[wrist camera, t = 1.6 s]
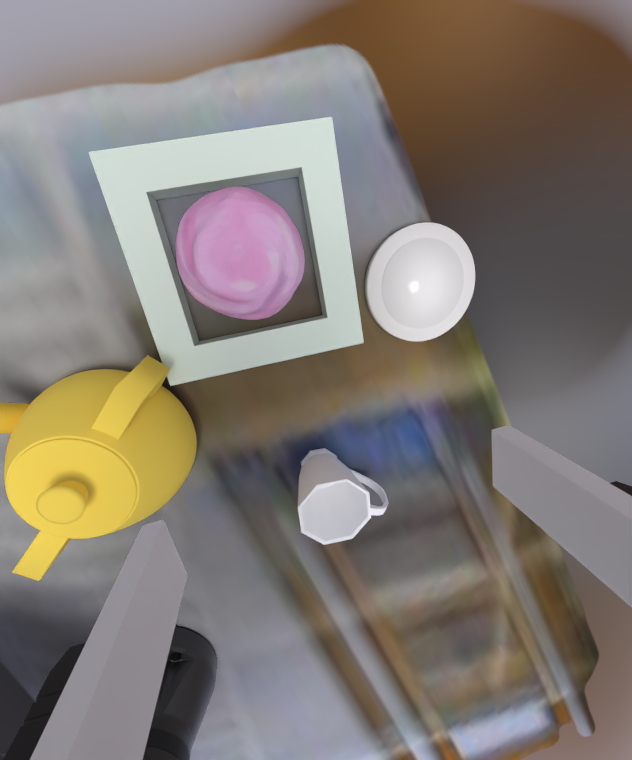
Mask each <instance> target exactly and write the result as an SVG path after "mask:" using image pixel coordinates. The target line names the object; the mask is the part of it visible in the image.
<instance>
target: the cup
mask: <svg viewBox="0 0 632 760" xmlns="http://www.w3.org/2000/svg"><path fill="white" fill-rule="evenodd" d="M301 467H302V468H301V471H300V476H299V492H298V513H299V520H300V526H301V533H303V534H305V535H307V536H309V537H311V538H312V539H314V540H316V541H318V542H320V543H322V544H324V545H326V544H330V543H335V542H339V541H344V540H348V539H353V538H354V536H355V535H356V534H357V533H358V532H359V531H360V530H361V528H362V527H363V526H364V525H365V524H366V523H367V522H368V520H369V519H370V518H371V515H382V514H383V513H384V512H385V510H386V508H387V506H388V498H387V495H386V493H385V491H384V490H383V488H382V487H381V486H380V485H379V484H377V483H376V482H374V481H373V480H371V479H370V478H368V477H366V476H364V475H362V474H360V473H358V472H356V471H354V470H351V469H349V468H348V467H347V466H345V465H344V464H343V463H342V462H341V461H340V460H338V459H337V456H336V455H335V454H333V453H332V452H330V451H329V450H327V449H326V448H322V449H317V450H311V451H309V453H308V454H307V455H306V456H305V458H304V459H303V460H302V461H301ZM360 482H361V483H363V484H365V485H367V486H368V487H370V488H372V489H373V490H374V491H375V492H376V493H377V494H378V495H379V496H380V498H381V500H382V504H383V506H379V507H378V506H374V505H370V496H369V492H368V491H367V490H366V488H365V487H364V486H363V485H362V484H361V483H360Z"/></svg>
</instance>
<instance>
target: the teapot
mask: <svg viewBox="0 0 632 760" xmlns="http://www.w3.org/2000/svg"><path fill="white" fill-rule="evenodd" d="M169 370H170V368H169V367H167V366H165V365H164V364H162V363H160V362H158V361H157V360H155V359H153V358H152V357H150V356H148V355H147V356H146V357H145V358H144V359H143V360H142V361H141V362H140V363H139V364H138V365H137V366H136V367H135V368H134V369H133V370H132V371H131V372H127V371H121V370H113V369H96V370H89V371H83V372H79V373H76V374H73V375H70V376H68V377H66V378H64V379H61V380H60V381H58V382H56V383H55V384H53V385H51V386H50V387H48V388H47V389H46V390H44V391H43V392H42V393H41V394H40V395H39V396H38V397H36V398H35V399H34V400H33V401H32V403H31V404H28V403H0V434H4V433H11V436H10V439H9V442H8V446H7V451H6V456H5V469H4V481H5V487H6V492H7V496H8V499H9V501H10V503H11V505H12V507H13V508H14V510H15V511H16V512H17V514H18V515H19V516H20V517H21V518H22V519H23V520H25V521H26V522H27V523H28V524H30V525H32V526H33V527H35V528H37V529H39V530H40V532H39V533H38V535H37V536H36V538H35V539H34V541H33V542H32V544H31V545H30V547H29V548H28V550H27V551H26V552H25V554H24V555H23V557H22V558H21V560H20V561H19V563H18V564H17V566H16V567H15V569H14V570H13V572H12V573H16V574H19V575H22V576H25V577H28V578H31V579H34V580H37V581H40V580H41V578H42V577H43V576H44V574H45V573H46V572H47V570H48V569H49V568H50V566H51V565H52V564H53V563H54V561H55V560H56V559H57V557H58V556H59V555H60V553H61V552H62V551H63V549H64V548H65V546H66V545H67V544H68V542H69V541H70V539H86V538H93V537H97V536H102V535H106V534H110V533H112V532H115V531H118V530H121V529H123V528H126V527H128V526H131V525H133V524H135V523H137V522H139V521H141V520H143V519H145V518H147V517H148V516H150V515H151V514H153V513H154V512H156V511H157V510H158V509H160V508H161V507H162V506H163V505H165V504H166V503H167V502H168V501H169V500H170V499H171V498H172V497H173V495H174V494H175V493H176V492H177V491H178V490H179V488H180V487H181V486H182V484H183V483H184V481H185V480H186V479H187V477H188V475H189V473H190V471H191V468H192V466H193V463H194V460H195V457H196V450H197V438H196V432H195V428H194V425H193V422H192V420H191V418H190V415H189V414H188V412H187V410H186V409H185V407H184V406H183V405H182V403H181V402H180V401H179V400H178V399H177V398H176V397H175V396H174V395H173V394H172V393H171V392H170V391H169V390H167V389H166V388H164V387H163V386H162V384H163V382H164V380H165V378H166V376H167V374H168V372H169Z"/></svg>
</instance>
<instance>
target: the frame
mask: <svg viewBox="0 0 632 760" xmlns="http://www.w3.org/2000/svg"><path fill="white" fill-rule="evenodd" d="M89 155H90V158H91V161H92V164H93V167H94V169H95V172H96V175H97V178H98V181H99V184H100V187H101V189H102V192H103V195H104V198H105V201H106V204H107V207H108V209H109V212H110V215H111V218H112V221H113V224H114V227H115V229H116V232H117V235H118V238H119V241H120V244H121V247H122V249H123V252H124V255H125V258H126V261H127V264H128V267H129V269H130V272H131V275H132V278H133V281H134V284H135V287H136V289H137V292H138V295H139V298H140V301H141V304H142V307H143V310H144V312H145V315H146V318H147V321H148V324H149V327H150V330H151V332H152V335H153V338H154V341H155V344H156V347H157V350H158V352H159V355H160V358H161V361H162V364H164V365H165V366H167V367H169V368H170V370H169V372H168V374H167V378H168V381H169V384H170V386H173V385H177V384H182V383H186V382H191V381H195V380H200V379H204V378H208V377H213V376H217V375H222V374H226V373H231V372H235V371H240V370H244V369H249V368H253V367H258V366H262V365H267V364H271V363H276V362H280V361H285V360H289V359H293V358H298V357H302V356H307V355H311V354H316V353H320V352H325V351H329V350H334V349H338V348H343V347H347V346H352V345H356V344H361V343H364V341H363V334H362V327H361V320H360V313H359V305H358V298H357V291H356V284H355V277H354V270H353V263H352V256H351V249H350V242H349V235H348V227H347V220H346V213H345V206H344V199H343V192H342V185H341V178H340V171H339V164H338V157H337V149H336V142H335V135H334V128H333V121H332V117H326V118H320V119H313V120H306V121H299V122H292V123H285V124H278V125H271V126H264V127H258V128H251V129H244V130H237V131H230V132H223V133H216V134H209V135H202V136H196V137H189V138H182V139H175V140H168V141H161V142H154V143H147V144H140V145H134V146H127V147H120V148H113V149H106V150H99V151H92V152H89ZM294 177H298V180H299V185H300V191H301V197H302V202H303V208H304V214H305V219H306V225H307V230H308V236H309V242H310V247H311V253H312V259H313V264H314V270H315V276H316V281H317V287H318V292H319V298H320V304H321V309H322V315H321V316H316V317H312V318H307V319H302V320H297V321H293V322H288V323H283V324H278V325H274V326H269V327H264V328H259V329H255V330H250V331H245V332H240V333H236V334H231V335H226V336H222V337H217V338H212V339H207V340H203V341H199V339H198V336H197V332H196V329H195V326H194V323H193V319H192V316H191V313H190V310H189V306H188V303H187V300H186V296H185V293H184V290H183V287H182V283H181V280H180V277H179V273H178V270H177V267H176V264H175V260H174V257H173V254H172V251H171V247H170V244H169V241H168V237H167V234H166V231H165V228H164V224H163V221H162V218H161V214H160V211H159V208H158V205H157V201H156V200H160V199H166V198H172V197H178V196H184V195H190V194H196V193H202V192H208V191H215V190H220V189H224V188H228V187H239V186H245V185H251V184H257V183H263V182H270V181H276V180H282V179H288V178H294Z"/></svg>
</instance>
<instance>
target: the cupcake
mask: <svg viewBox="0 0 632 760" xmlns="http://www.w3.org/2000/svg"><path fill="white" fill-rule="evenodd" d="M176 259H177V266H178V270H179V274H180V276H181V278H182V281H183V283H184V285H185V286H186V288H187V289H188V291H189V292H190V293H191V294H192V296H193V297H194V298H195V299H197V300H198V301H199V302H201V303H202V304H204V305H206V306H207V307H209V308H211V309H213V310H214V311H216V312H219V313H222V314H224V315H227V316H230V317H234V318H239V319H248V320H259V319H265V318H268V317H270V316H272V315H274V314H276V313H277V312H279V311H280V310H281V309H282V308H283V307H284V306H285V305H286V304H287V303H288V302H289V300H290V299H291V298H292V296H293V294H294V292H295V290H296V288H297V287H298V285H299V284H300V282H301V280H302V277H303V273H304V266H305V258H304V250H303V245H302V241H301V238H300V235H299V232H298V230H297V228H296V227H295V225H294V223H293V222H292V220H291V218H290V217H289V216H288V214H287V213H286V212H285V210H284V209H283V208H282V207H281V206H280V205H279V204H277V203H276V202H275V201H273V200H271V199H270V198H268V197H266V196H265V195H263V194H261V193H259V192H257V191H255V190H253V189H250V188H246V187H228V188H224V189H220V190H218V191H215V192H212V193H209V194H207V195H205V196H203V197H202V198H200V199H199V200H198V201H196V202H195V203H194V204H193V205H192V206H191V207H190V208H189V209H188V210H187V211H186V212H185V214H184V216H183V217H182V219H181V222H180V225H179V227H178V231H177V236H176Z"/></svg>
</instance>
